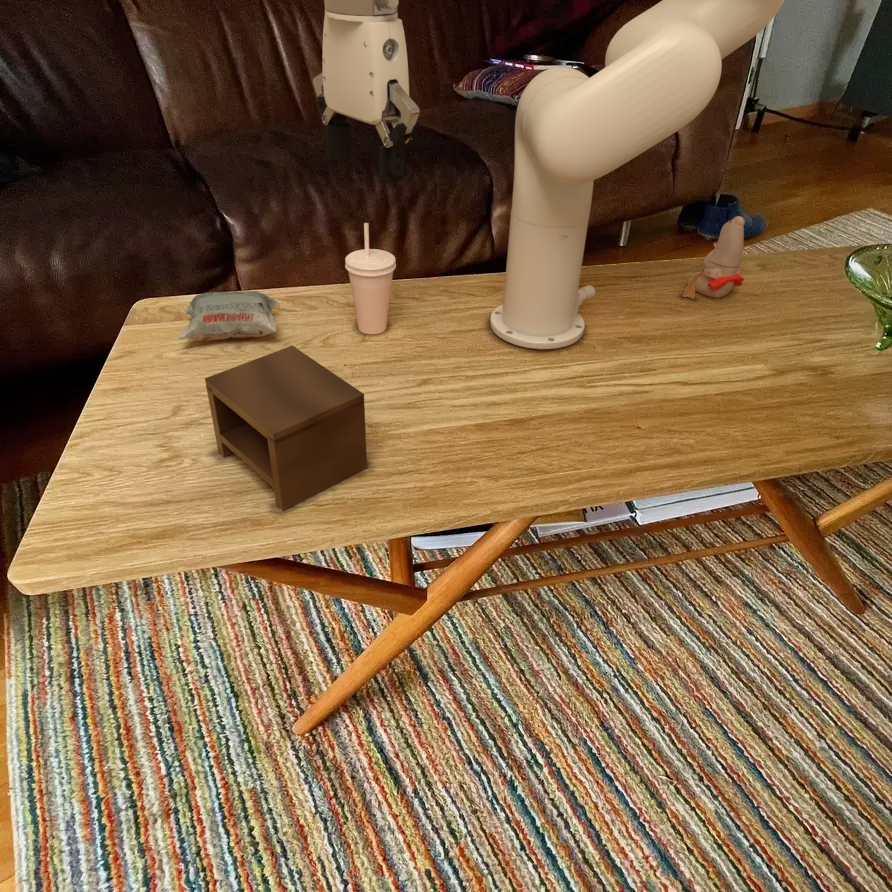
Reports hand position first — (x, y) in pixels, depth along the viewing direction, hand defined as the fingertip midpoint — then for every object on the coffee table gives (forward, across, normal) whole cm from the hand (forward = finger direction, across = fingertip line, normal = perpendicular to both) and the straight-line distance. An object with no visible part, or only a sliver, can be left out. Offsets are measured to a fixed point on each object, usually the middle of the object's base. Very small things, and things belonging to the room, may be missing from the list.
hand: (365, 169), depth 88 cm
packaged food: (+21, +10, +14) cm, 27 cm away
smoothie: (+21, 0, 0) cm, 21 cm away
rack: (+21, -17, +24) cm, 36 cm away
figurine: (+20, -23, -45) cm, 55 cm away
